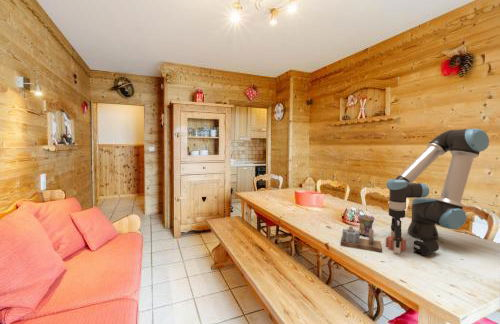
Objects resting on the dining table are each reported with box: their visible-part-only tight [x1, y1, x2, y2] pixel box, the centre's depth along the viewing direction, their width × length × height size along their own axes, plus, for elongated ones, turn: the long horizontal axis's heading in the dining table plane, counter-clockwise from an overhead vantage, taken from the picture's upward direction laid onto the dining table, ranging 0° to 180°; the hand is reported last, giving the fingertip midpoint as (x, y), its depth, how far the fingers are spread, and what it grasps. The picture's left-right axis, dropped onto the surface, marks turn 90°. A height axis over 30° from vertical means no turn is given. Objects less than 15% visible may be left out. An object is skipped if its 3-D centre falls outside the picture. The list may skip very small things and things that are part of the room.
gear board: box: [340, 225, 383, 253], centre depth 129 cm, size 20×10×10 cm, turn 65°
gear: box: [341, 227, 361, 243], centre depth 131 cm, size 9×9×5 cm
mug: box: [357, 214, 376, 237], centre depth 146 cm, size 12×9×11 cm
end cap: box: [412, 238, 440, 257], centre depth 119 cm, size 10×7×7 cm
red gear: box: [385, 235, 407, 252], centre depth 125 cm, size 9×9×5 cm
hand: (395, 247), depth 125 cm, fingers open, 13 cm apart
